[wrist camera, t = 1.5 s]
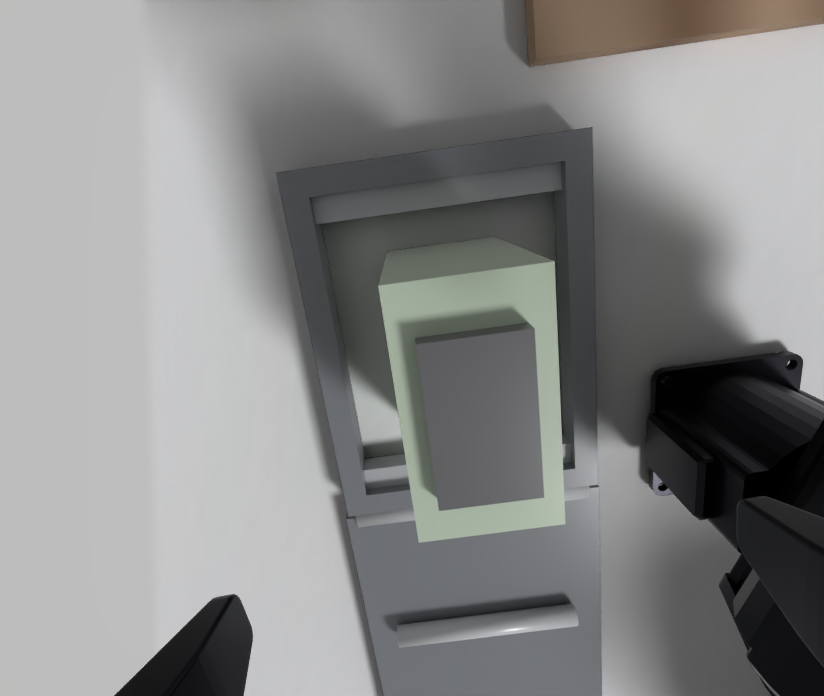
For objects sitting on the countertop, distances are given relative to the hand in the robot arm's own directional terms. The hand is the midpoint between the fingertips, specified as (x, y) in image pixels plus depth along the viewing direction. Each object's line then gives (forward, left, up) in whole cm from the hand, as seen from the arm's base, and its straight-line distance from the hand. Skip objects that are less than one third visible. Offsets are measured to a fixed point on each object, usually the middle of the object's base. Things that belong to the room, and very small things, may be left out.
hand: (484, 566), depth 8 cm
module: (-1, 0, -13) cm, 13 cm away
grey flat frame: (-1, +7, -13) cm, 15 cm away
